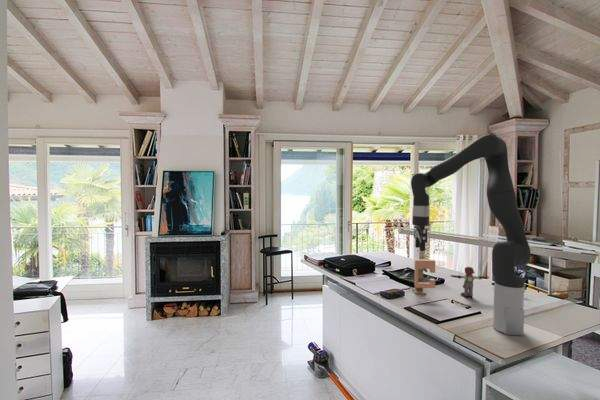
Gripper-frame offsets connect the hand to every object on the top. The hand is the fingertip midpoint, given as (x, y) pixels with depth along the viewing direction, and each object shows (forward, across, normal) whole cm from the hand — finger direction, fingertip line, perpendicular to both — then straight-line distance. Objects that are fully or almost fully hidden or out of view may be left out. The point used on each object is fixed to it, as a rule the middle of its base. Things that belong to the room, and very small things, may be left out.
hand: (420, 249), depth 148 cm
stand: (+24, +5, -2) cm, 24 cm away
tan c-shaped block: (+18, 0, -3) cm, 18 cm away
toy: (+24, +6, -24) cm, 35 cm away
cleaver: (+24, +16, -48) cm, 56 cm away
